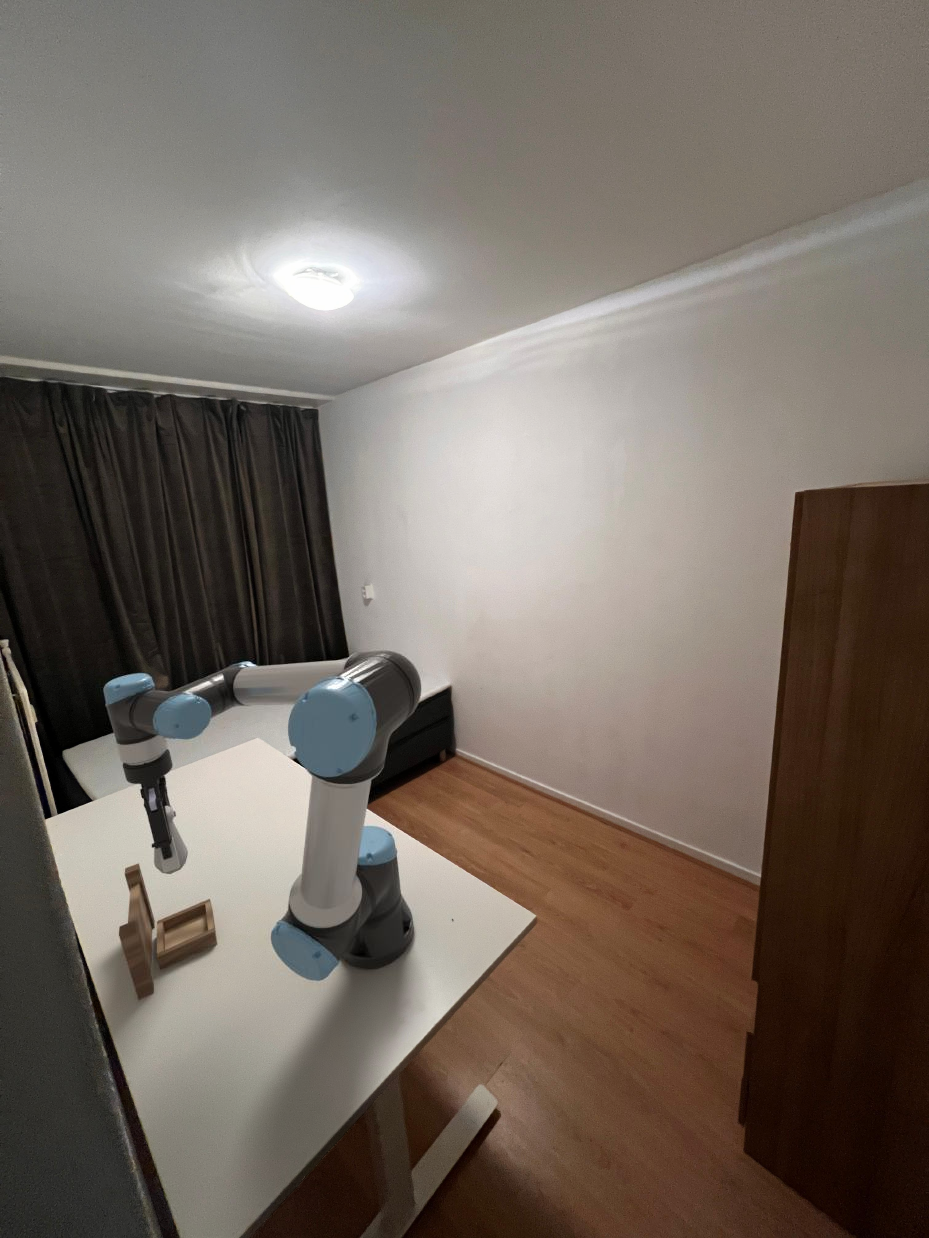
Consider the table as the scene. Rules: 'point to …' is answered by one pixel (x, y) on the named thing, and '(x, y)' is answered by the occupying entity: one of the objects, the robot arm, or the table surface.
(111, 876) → the table surface
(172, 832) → the salt shaker
